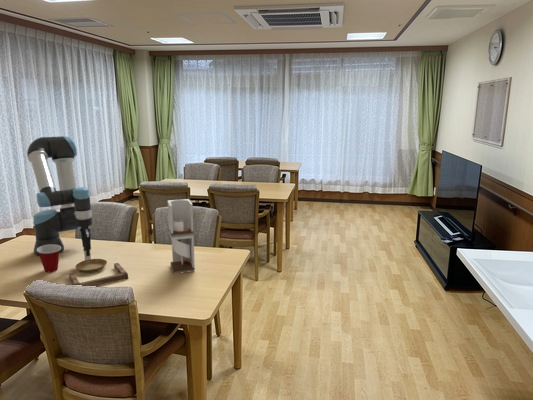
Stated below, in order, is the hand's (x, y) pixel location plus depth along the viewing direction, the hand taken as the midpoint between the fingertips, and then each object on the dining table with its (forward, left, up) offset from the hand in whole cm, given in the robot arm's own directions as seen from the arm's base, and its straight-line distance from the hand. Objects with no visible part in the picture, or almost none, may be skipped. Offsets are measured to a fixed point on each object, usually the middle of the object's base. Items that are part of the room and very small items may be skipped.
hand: (88, 261), depth 205 cm
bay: (+23, 0, -1) cm, 23 cm away
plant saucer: (+8, 0, -2) cm, 8 cm away
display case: (+34, +38, -2) cm, 51 cm away
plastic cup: (-1, -17, -2) cm, 17 cm away
